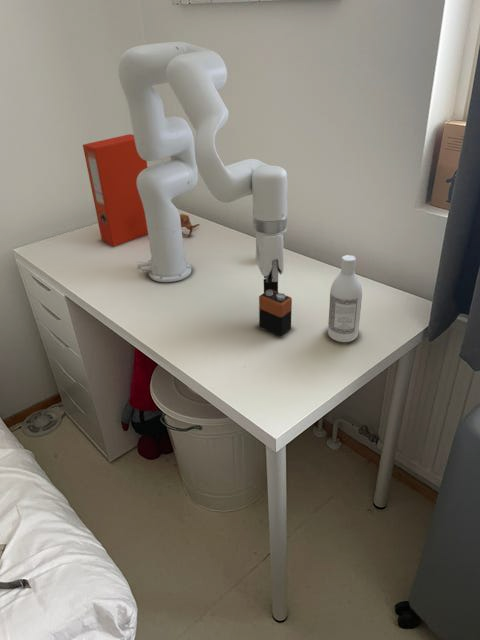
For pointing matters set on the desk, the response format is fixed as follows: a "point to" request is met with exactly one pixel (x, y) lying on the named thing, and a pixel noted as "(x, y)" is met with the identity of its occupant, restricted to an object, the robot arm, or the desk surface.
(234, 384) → the desk surface
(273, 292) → the battery
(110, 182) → the file binder
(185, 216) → the cat figurine
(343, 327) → the bath foam
